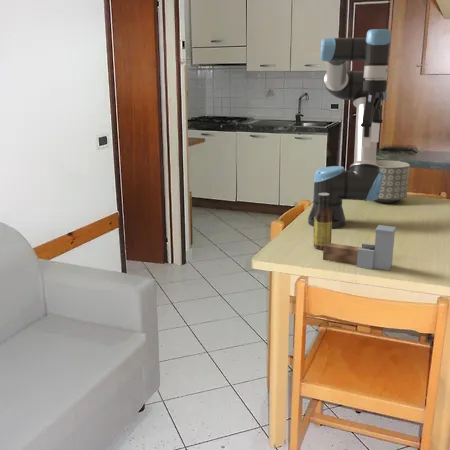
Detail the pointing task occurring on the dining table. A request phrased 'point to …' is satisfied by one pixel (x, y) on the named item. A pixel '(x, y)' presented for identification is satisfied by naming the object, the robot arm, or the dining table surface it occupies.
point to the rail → (342, 253)
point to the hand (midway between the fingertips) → (370, 144)
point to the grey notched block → (378, 250)
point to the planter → (393, 180)
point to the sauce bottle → (322, 222)
